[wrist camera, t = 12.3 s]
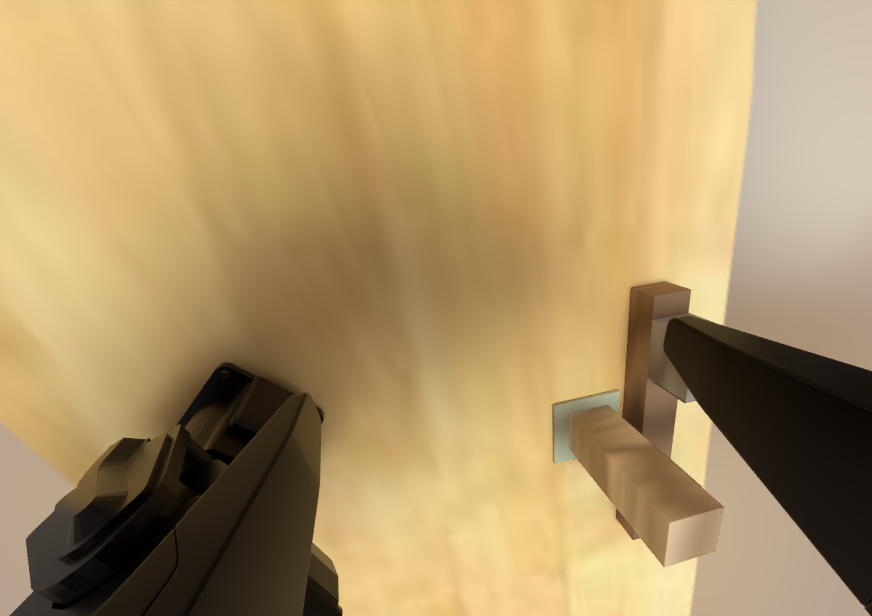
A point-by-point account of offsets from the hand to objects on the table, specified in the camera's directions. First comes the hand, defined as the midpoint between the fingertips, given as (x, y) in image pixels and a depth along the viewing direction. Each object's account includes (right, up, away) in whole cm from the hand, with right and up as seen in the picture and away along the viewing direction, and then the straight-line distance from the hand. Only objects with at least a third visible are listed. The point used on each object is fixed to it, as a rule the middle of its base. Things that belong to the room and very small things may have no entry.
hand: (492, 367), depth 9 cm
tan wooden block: (+10, -7, +18) cm, 21 cm away
